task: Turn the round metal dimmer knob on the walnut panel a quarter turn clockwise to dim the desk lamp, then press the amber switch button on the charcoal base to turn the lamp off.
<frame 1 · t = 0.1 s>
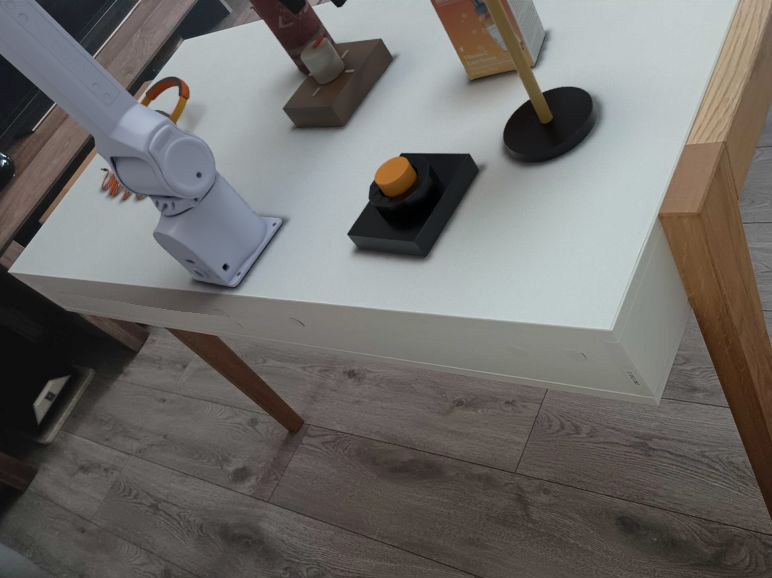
hand: (321, 5, 87), 10 cm above the table, tool pointing down, fingers open, 7 cm apart
can: (321, 61, 103), on the table
dimmer knob: (322, 60, 91), point 5 cm above the table, hinge at 0.0°
small box: (509, 59, 82), on the table
dimmer panel: (344, 92, 95), on the table
headphones: (158, 150, 111), on the table
switch base: (418, 209, 74), on the table
lamp switch: (395, 177, 70), point 4 cm above the table, slide at 0.1 cm
desk lamp: (551, 128, 72), on the table
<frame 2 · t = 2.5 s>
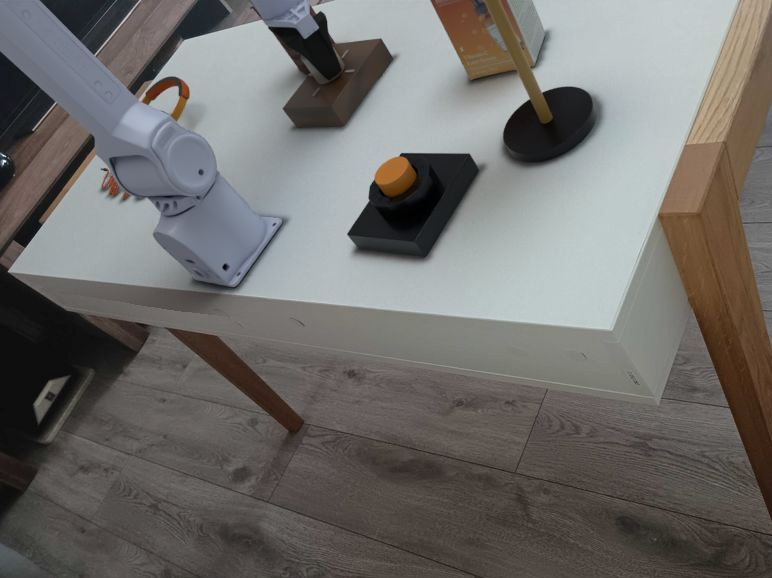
hand: (328, 69, 92), 4 cm above the table, tool pointing down, fingers closed on dimmer knob, 4 cm apart
dimmer knob: (322, 60, 91), point 5 cm above the table, hinge at -0.2°, touching gripper
everything else where it was.
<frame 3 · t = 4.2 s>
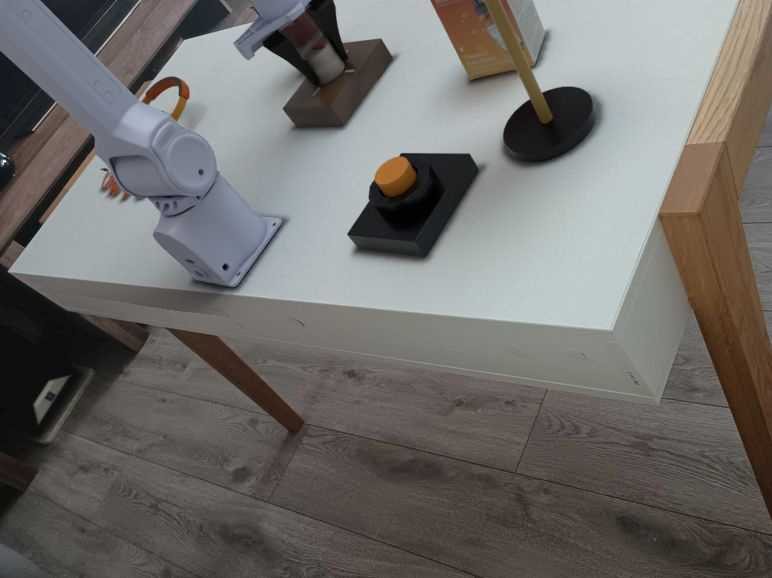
hand: (329, 70, 92), 3 cm above the table, tool pointing down, fingers closed on dimmer knob, 4 cm apart
dimmer knob: (322, 60, 91), point 5 cm above the table, hinge at -86.1°, touching gripper
everything else where it was.
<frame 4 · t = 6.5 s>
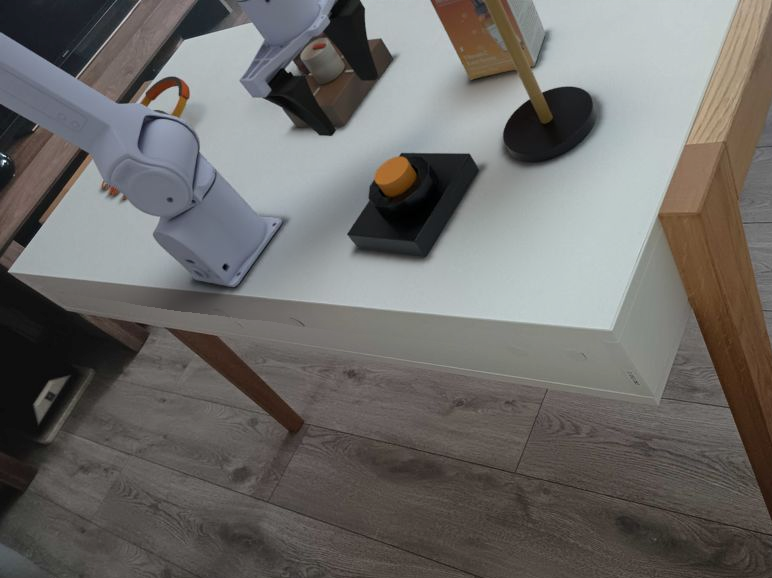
hand: (349, 105, 74), 9 cm above the table, tool pointing down, fingers open, 7 cm apart
dimmer knob: (322, 60, 91), point 5 cm above the table, hinge at -85.9°
everything else where it was.
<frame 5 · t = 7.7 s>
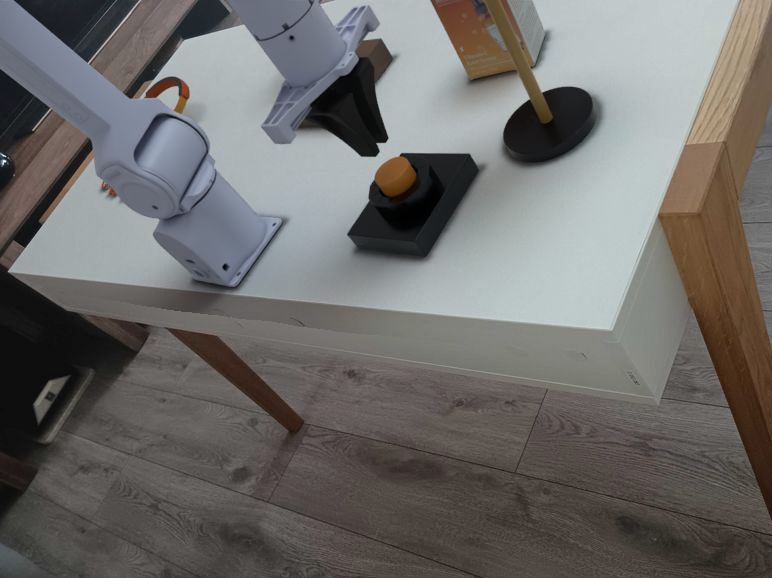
hand: (375, 147, 68), 8 cm above the table, tool pointing down, fingers closed
nothing on the table moved.
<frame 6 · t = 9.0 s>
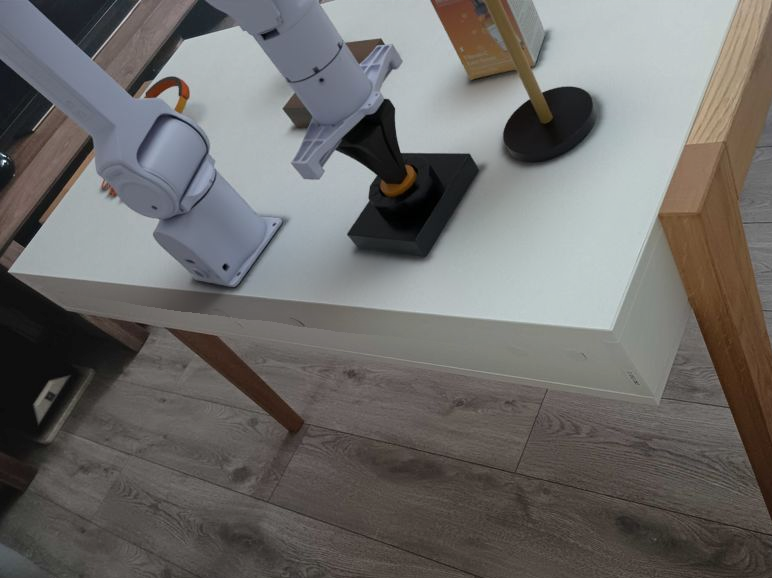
hand: (397, 178, 71), 4 cm above the table, tool pointing down, fingers closed, pressing on lamp switch
lamp switch: (401, 185, 71), point 3 cm above the table, slide at -1.0 cm, touching gripper
everything else where it was.
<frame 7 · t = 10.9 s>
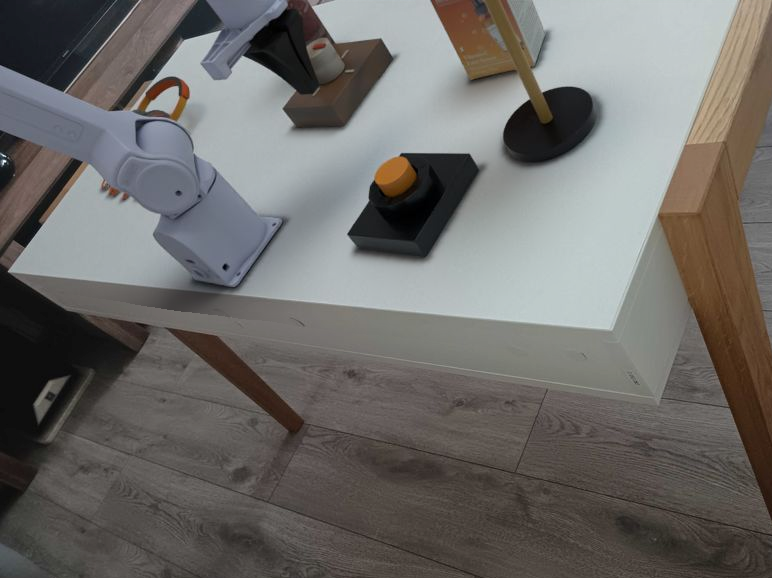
hand: (310, 89, 75), 10 cm above the table, tool pointing down, fingers closed
lamp switch: (395, 177, 70), point 4 cm above the table, slide at 0.1 cm
everything else where it was.
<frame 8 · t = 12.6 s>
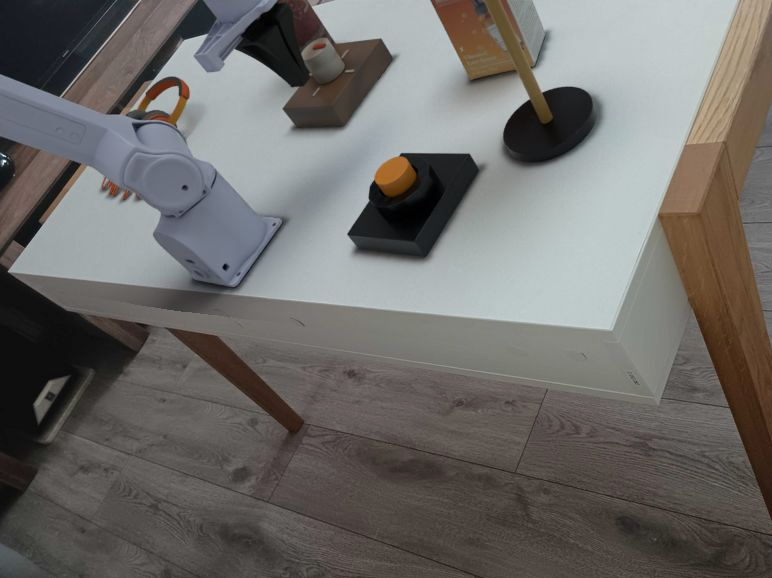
hand: (301, 82, 77), 10 cm above the table, tool pointing down, fingers closed
nothing on the table moved.
at the end: dimmer knob at -86° (first picture: +0°); lamp switch pushed in 1.2 cm at the most during the clip, back to where it started at the end; lamp switch slide at 0.1 cm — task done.
